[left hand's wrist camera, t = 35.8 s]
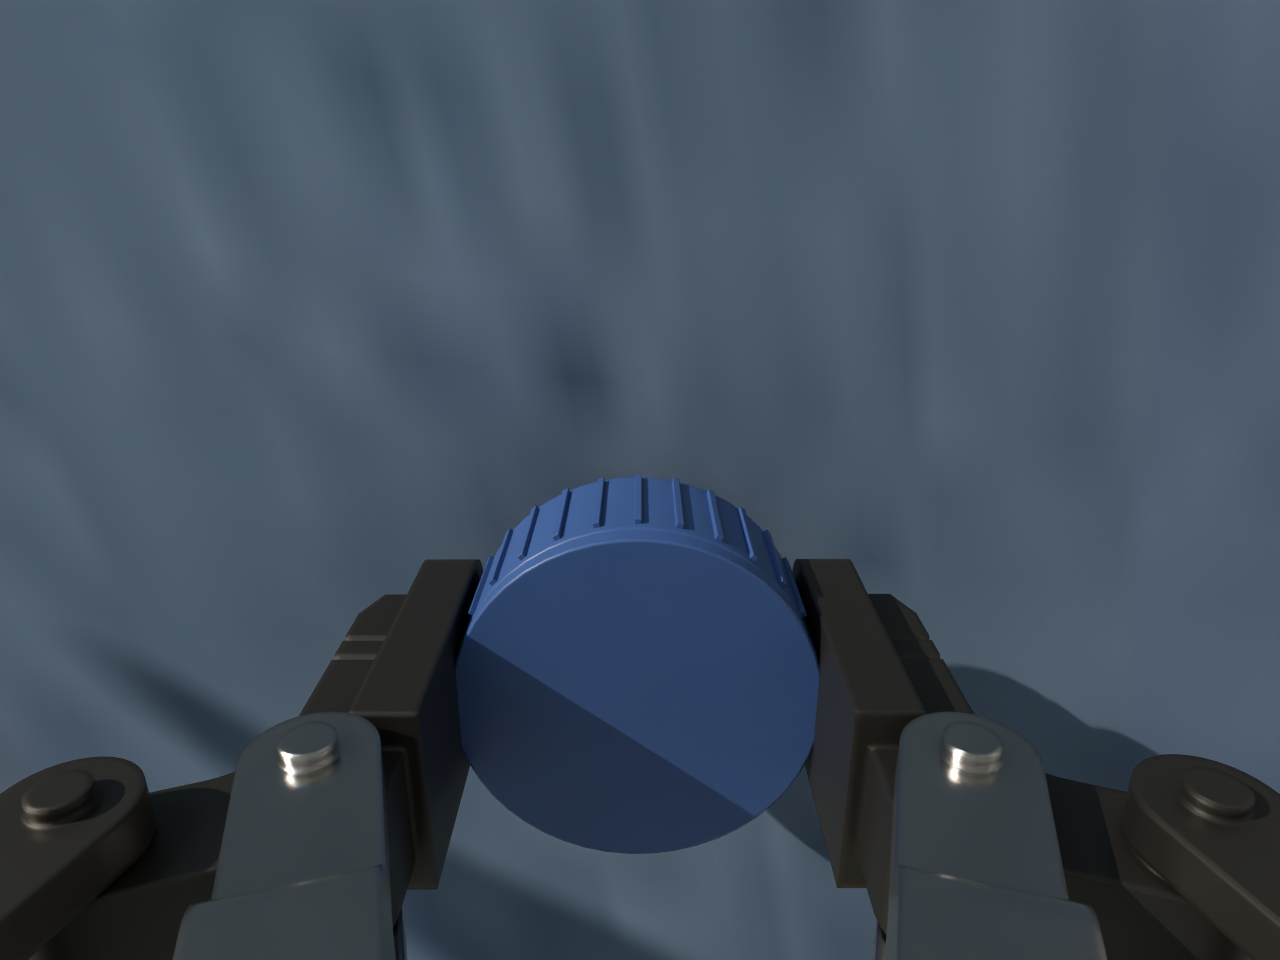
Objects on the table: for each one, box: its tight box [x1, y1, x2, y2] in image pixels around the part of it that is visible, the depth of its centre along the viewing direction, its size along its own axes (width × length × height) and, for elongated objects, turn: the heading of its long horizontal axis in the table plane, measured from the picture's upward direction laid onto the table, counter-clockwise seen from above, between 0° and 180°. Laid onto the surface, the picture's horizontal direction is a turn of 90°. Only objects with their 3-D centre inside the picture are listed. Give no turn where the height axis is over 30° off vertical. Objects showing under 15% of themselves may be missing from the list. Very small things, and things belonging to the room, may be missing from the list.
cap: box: [455, 475, 820, 854], centre depth 11 cm, size 4×4×2 cm
